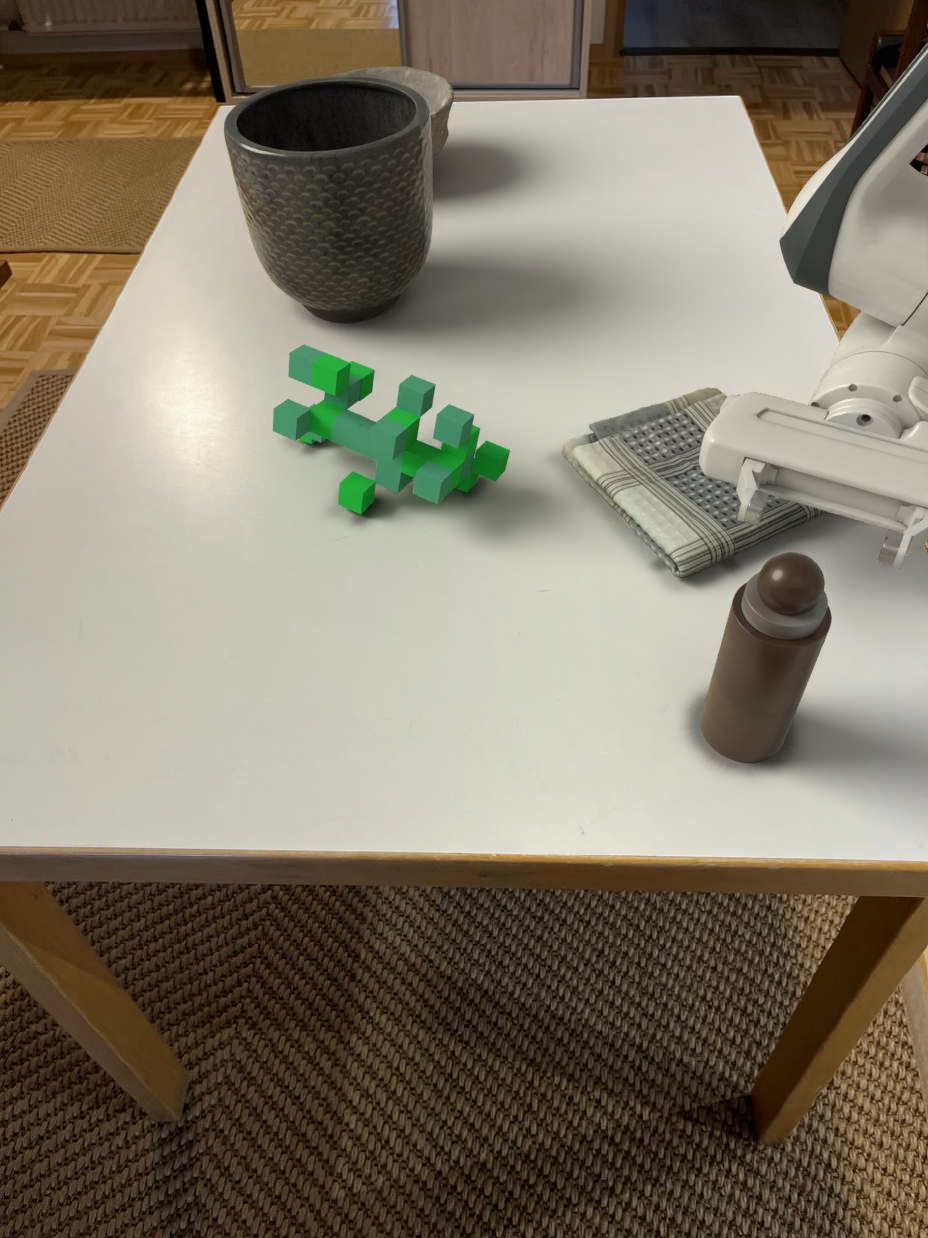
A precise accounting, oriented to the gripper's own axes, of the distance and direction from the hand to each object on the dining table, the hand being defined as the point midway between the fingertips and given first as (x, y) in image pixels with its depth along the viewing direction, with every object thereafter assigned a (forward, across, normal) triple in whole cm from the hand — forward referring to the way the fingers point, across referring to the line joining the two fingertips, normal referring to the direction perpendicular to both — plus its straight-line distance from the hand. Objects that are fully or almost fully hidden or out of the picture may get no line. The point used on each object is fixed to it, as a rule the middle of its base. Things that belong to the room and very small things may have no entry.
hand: (817, 537), depth 62 cm
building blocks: (-1, -35, +9) cm, 36 cm away
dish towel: (-12, -12, +9) cm, 19 cm away
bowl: (-53, -69, +9) cm, 87 cm away
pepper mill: (+10, 0, +9) cm, 14 cm away
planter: (-25, -55, +9) cm, 62 cm away
